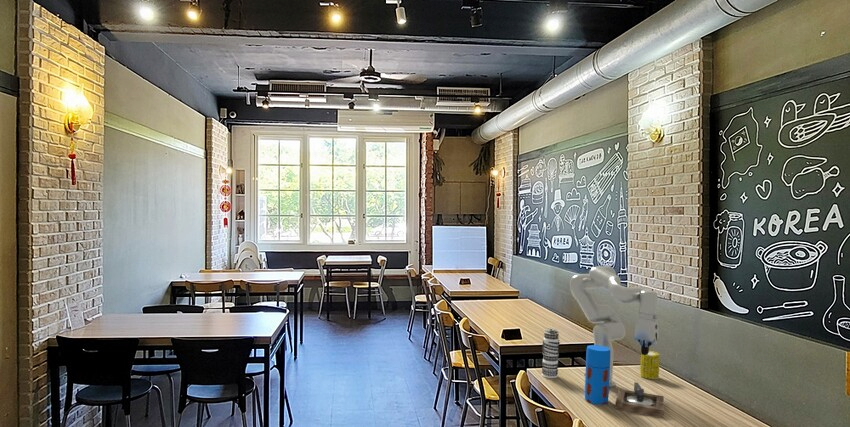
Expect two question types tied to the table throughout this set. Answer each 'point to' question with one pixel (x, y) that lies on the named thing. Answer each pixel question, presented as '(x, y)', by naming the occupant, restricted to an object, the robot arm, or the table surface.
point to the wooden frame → (639, 408)
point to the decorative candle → (550, 353)
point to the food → (650, 365)
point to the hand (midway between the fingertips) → (644, 354)
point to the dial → (639, 396)
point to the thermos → (597, 374)
